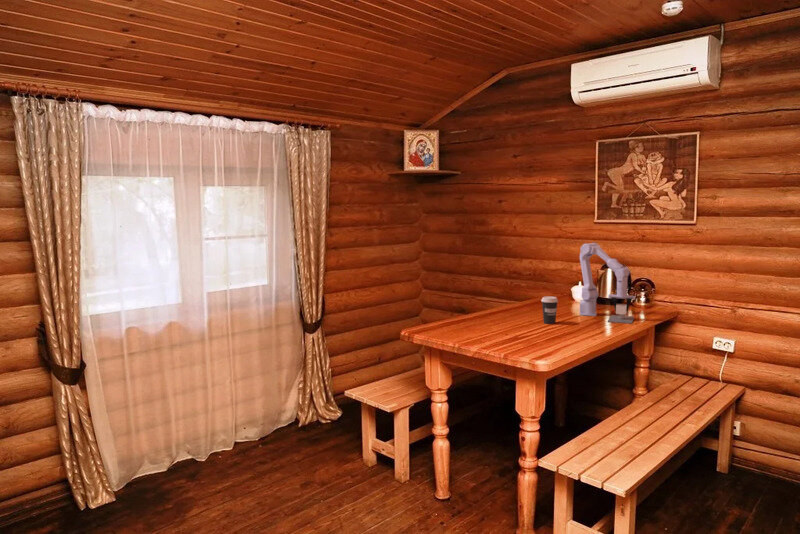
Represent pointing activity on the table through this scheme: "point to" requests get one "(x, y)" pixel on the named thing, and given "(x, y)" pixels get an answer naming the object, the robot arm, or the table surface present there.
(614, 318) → the duct board
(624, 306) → the collar
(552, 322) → the coffee cup
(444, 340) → the table surface
